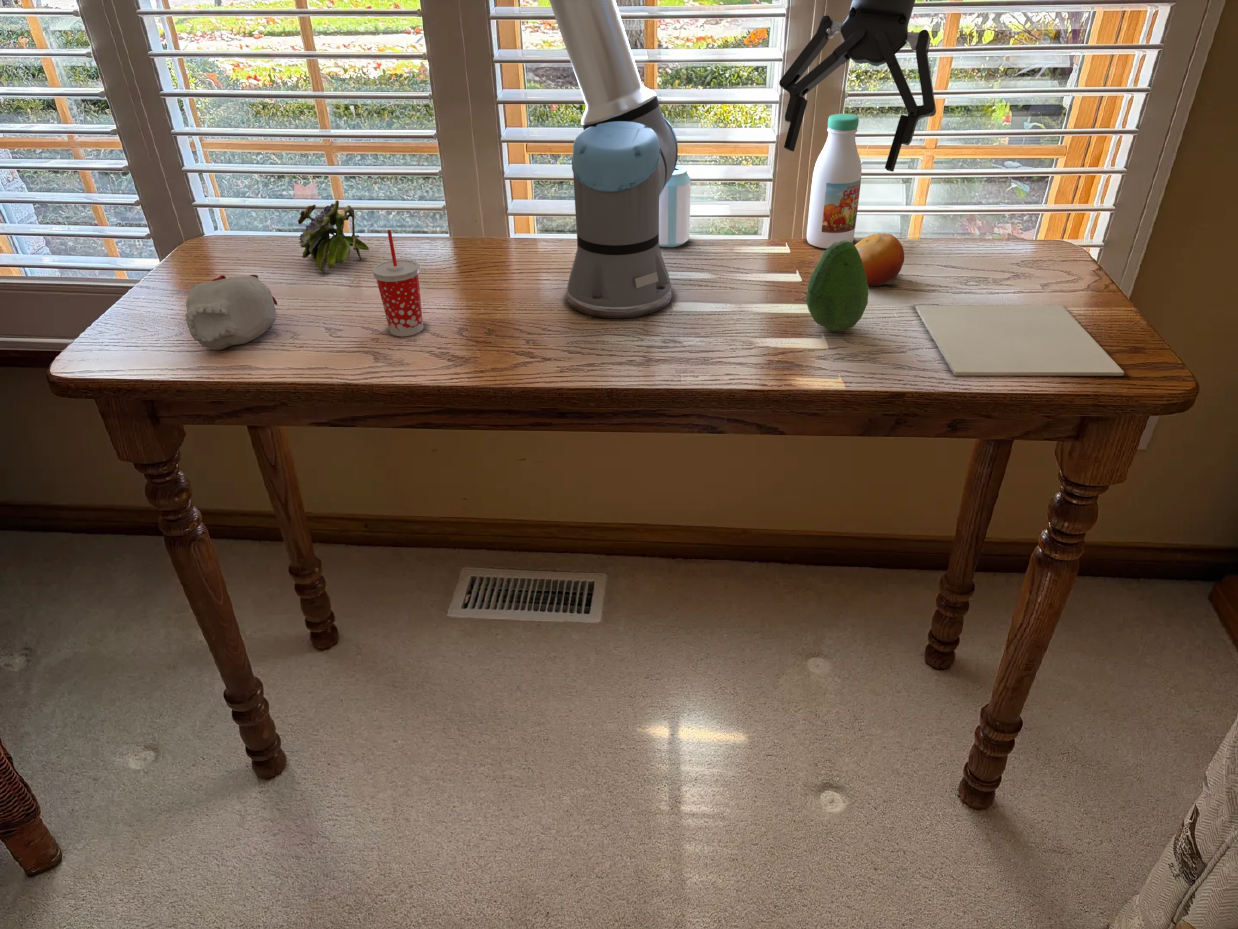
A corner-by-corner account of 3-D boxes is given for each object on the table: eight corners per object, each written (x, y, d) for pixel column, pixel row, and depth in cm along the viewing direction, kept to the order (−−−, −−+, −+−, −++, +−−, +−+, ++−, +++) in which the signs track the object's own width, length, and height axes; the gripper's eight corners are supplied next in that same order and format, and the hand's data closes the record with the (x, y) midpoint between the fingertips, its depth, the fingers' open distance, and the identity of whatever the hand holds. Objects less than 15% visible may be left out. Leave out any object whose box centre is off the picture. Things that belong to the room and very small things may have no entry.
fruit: (917, 282, 125) (894, 235, 122) (865, 306, 129) (842, 261, 126) (912, 262, 132) (891, 217, 129) (863, 285, 135) (841, 241, 132)
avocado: (843, 312, 121) (854, 228, 114) (874, 335, 115) (887, 248, 108) (792, 321, 119) (800, 236, 112) (820, 345, 113) (831, 256, 106)
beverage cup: (428, 336, 118) (412, 236, 110) (382, 340, 117) (363, 240, 109) (429, 318, 123) (413, 220, 115) (385, 321, 122) (366, 224, 114)
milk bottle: (801, 247, 143) (813, 120, 132) (811, 232, 149) (823, 109, 137) (848, 252, 140) (865, 123, 129) (856, 236, 146) (873, 112, 135)
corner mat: (954, 375, 105) (955, 372, 105) (915, 308, 122) (915, 305, 121) (1123, 375, 104) (1124, 372, 104) (1060, 307, 120) (1061, 304, 120)
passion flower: (324, 289, 146) (312, 220, 147) (385, 276, 145) (372, 206, 146) (292, 274, 135) (279, 199, 135) (357, 260, 134) (344, 185, 134)
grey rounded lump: (198, 363, 111) (199, 331, 124) (288, 345, 115) (281, 316, 127) (175, 295, 107) (179, 269, 120) (270, 279, 111) (264, 255, 123)
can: (645, 235, 149) (645, 164, 142) (686, 233, 150) (687, 162, 143) (650, 249, 143) (649, 176, 137) (692, 247, 144) (693, 174, 137)
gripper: (786, -39, 108) (741, 136, 114) (990, -14, 100) (930, 175, 106) (799, -20, 115) (756, 145, 121) (992, 5, 106) (935, 182, 113)
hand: (837, 159), depth 114 cm, fingers open, 13 cm apart
